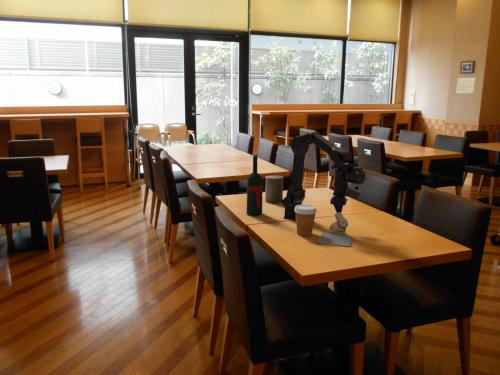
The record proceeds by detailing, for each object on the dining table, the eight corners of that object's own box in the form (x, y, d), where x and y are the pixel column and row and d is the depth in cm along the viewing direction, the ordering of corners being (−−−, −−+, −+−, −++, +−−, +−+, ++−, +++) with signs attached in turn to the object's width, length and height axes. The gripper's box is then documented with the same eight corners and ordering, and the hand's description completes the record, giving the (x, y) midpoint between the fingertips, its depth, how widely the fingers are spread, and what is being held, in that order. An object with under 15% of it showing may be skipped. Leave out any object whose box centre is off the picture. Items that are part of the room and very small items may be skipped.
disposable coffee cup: (301, 238, 183) (302, 210, 180) (289, 232, 191) (290, 205, 188) (320, 235, 187) (321, 208, 184) (307, 229, 195) (308, 203, 192)
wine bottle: (251, 218, 211) (252, 155, 204) (244, 212, 220) (244, 152, 214) (266, 216, 214) (267, 155, 207) (258, 211, 223) (259, 152, 216)
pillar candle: (283, 203, 238) (284, 176, 235) (265, 203, 239) (265, 175, 236) (282, 199, 248) (282, 173, 245) (264, 198, 248) (265, 172, 245)
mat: (317, 243, 177) (317, 242, 177) (321, 233, 189) (321, 232, 189) (350, 247, 174) (350, 246, 173) (352, 237, 186) (352, 236, 186)
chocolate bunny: (338, 238, 186) (338, 218, 181) (327, 228, 193) (327, 209, 188) (348, 233, 188) (349, 214, 183) (338, 224, 195) (338, 205, 190)
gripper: (359, 186, 174) (357, 224, 177) (362, 177, 192) (359, 212, 195) (331, 184, 177) (329, 221, 181) (336, 176, 195) (334, 210, 198)
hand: (339, 216), depth 188 cm, fingers closed
